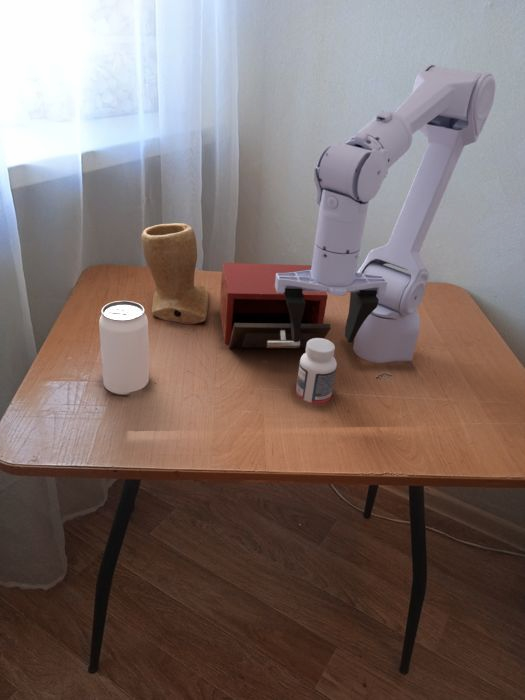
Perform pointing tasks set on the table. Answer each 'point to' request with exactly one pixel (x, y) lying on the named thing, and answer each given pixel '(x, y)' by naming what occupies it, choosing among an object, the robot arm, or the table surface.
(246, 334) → the oven door
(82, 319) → the table surface
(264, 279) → the oven
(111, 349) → the can
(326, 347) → the pill bottle
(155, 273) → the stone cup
